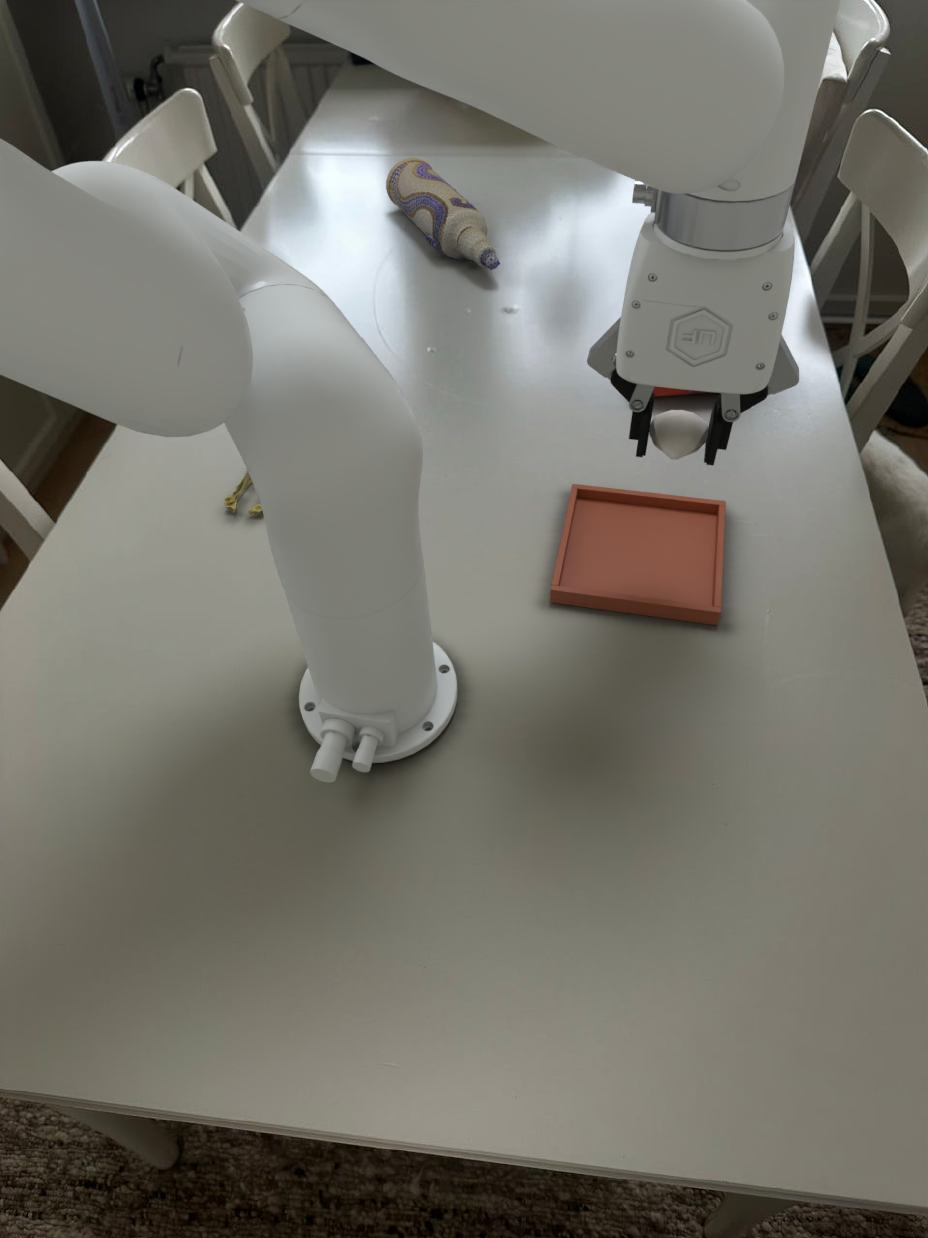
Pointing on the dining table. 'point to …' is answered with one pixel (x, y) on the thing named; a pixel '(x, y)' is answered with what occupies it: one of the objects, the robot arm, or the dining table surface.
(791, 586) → the dining table surface
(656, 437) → the white rounded flat piece
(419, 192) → the decorative bottle
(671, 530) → the tray
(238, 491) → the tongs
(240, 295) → the robot arm
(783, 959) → the dining table surface
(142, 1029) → the dining table surface
